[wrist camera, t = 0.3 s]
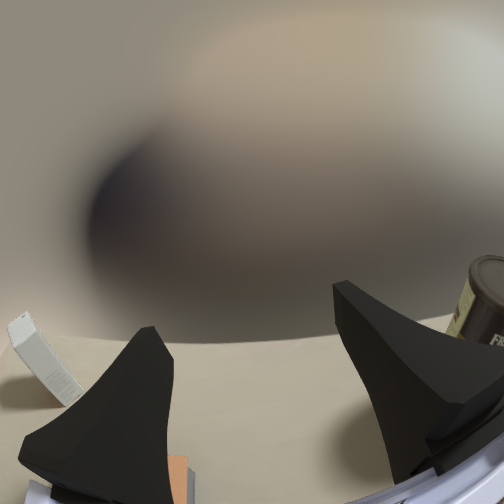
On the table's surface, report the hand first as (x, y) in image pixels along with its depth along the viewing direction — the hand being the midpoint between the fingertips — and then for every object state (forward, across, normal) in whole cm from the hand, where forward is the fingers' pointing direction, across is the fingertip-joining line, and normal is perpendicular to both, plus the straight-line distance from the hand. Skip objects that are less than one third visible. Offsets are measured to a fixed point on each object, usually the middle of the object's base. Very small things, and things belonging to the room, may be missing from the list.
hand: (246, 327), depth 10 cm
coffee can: (+5, -23, +23) cm, 33 cm away
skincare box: (+11, +30, +16) cm, 36 cm away
